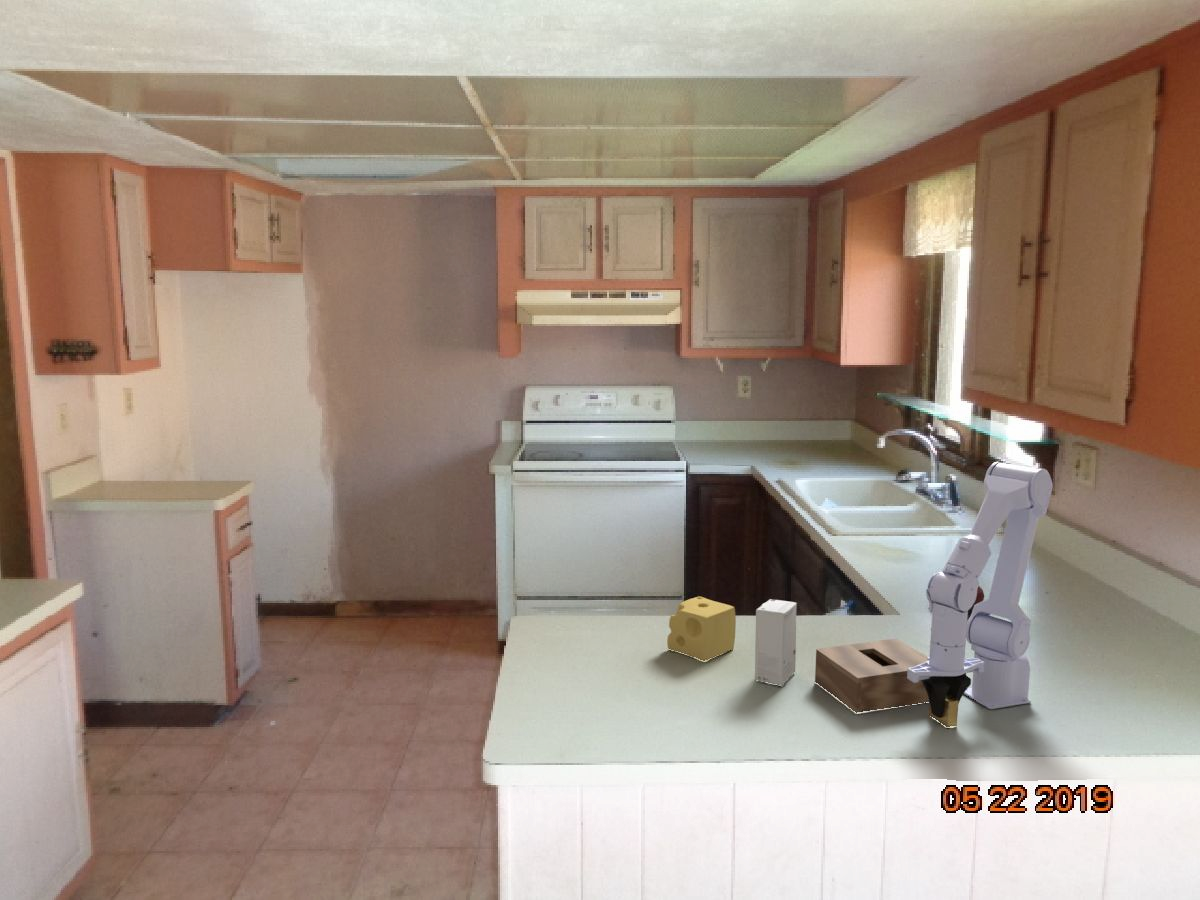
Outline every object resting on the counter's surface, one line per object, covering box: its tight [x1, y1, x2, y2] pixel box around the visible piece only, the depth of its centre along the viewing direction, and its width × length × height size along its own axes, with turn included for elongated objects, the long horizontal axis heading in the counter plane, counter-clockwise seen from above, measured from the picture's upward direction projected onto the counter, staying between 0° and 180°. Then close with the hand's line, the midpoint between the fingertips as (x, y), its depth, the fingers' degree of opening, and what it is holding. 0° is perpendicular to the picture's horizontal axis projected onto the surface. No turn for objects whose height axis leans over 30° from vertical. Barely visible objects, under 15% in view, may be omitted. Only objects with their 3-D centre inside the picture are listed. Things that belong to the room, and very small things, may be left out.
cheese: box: [667, 595, 737, 661], centre depth 191 cm, size 10×11×10 cm
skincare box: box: [754, 598, 798, 687], centre depth 177 cm, size 8×6×15 cm
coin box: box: [814, 638, 929, 713], centre depth 171 cm, size 18×14×7 cm
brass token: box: [928, 694, 960, 727], centre depth 159 cm, size 2×5×5 cm, turn 18°
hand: (942, 714), depth 159 cm, fingers closed on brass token, 2 cm apart
